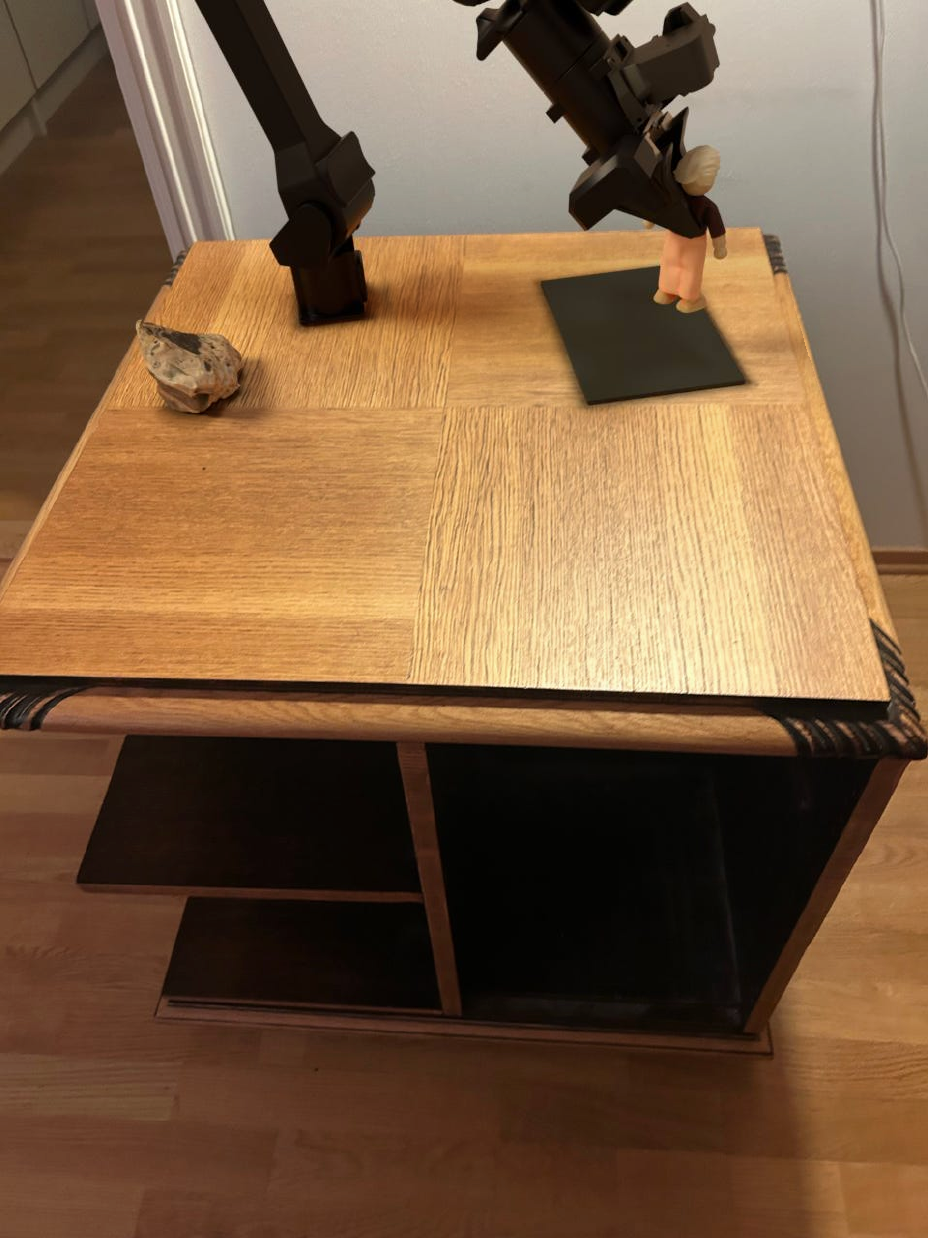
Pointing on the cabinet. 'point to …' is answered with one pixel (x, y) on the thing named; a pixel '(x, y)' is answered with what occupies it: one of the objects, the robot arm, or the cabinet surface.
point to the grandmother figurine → (686, 254)
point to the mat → (635, 338)
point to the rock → (189, 366)
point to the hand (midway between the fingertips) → (700, 225)
